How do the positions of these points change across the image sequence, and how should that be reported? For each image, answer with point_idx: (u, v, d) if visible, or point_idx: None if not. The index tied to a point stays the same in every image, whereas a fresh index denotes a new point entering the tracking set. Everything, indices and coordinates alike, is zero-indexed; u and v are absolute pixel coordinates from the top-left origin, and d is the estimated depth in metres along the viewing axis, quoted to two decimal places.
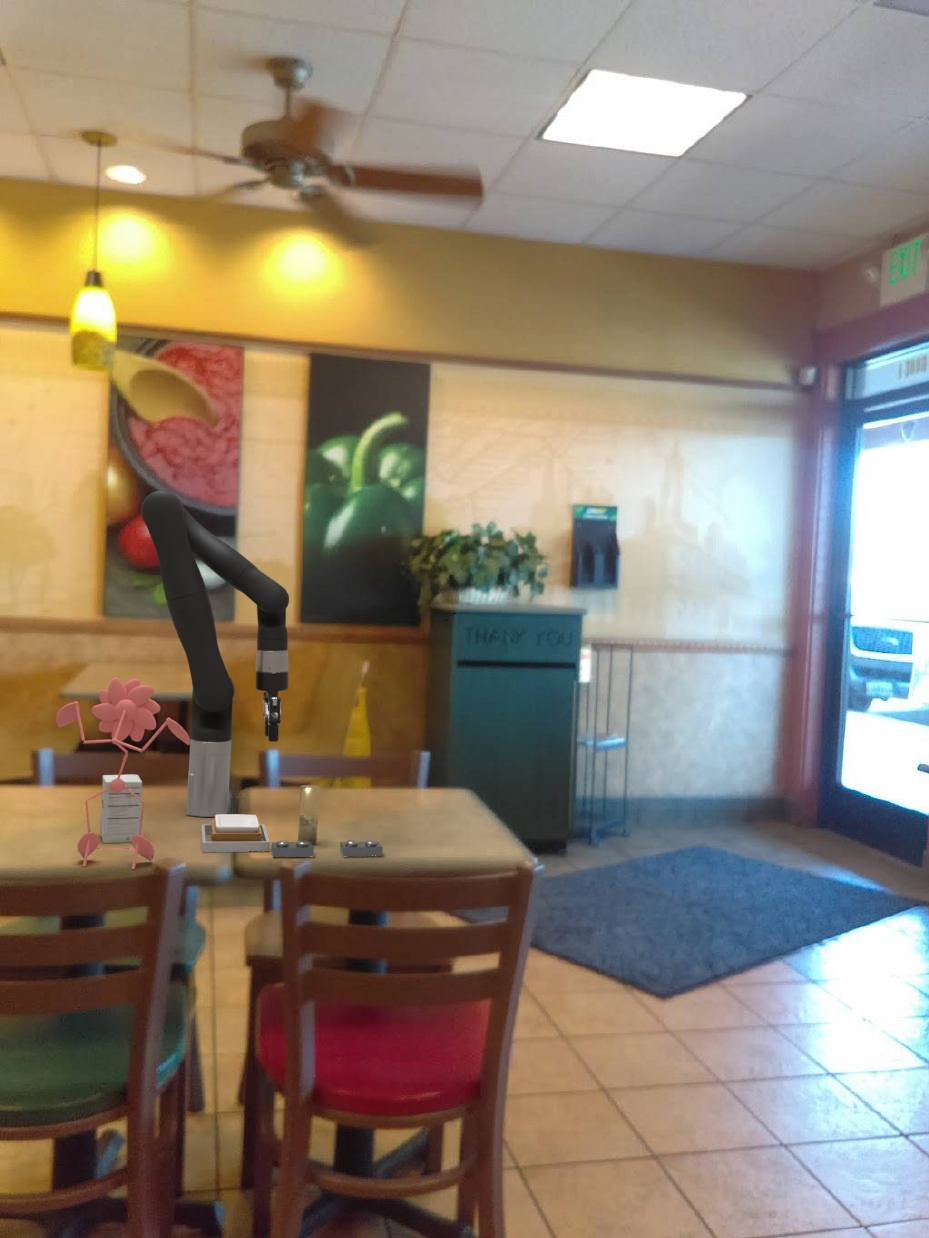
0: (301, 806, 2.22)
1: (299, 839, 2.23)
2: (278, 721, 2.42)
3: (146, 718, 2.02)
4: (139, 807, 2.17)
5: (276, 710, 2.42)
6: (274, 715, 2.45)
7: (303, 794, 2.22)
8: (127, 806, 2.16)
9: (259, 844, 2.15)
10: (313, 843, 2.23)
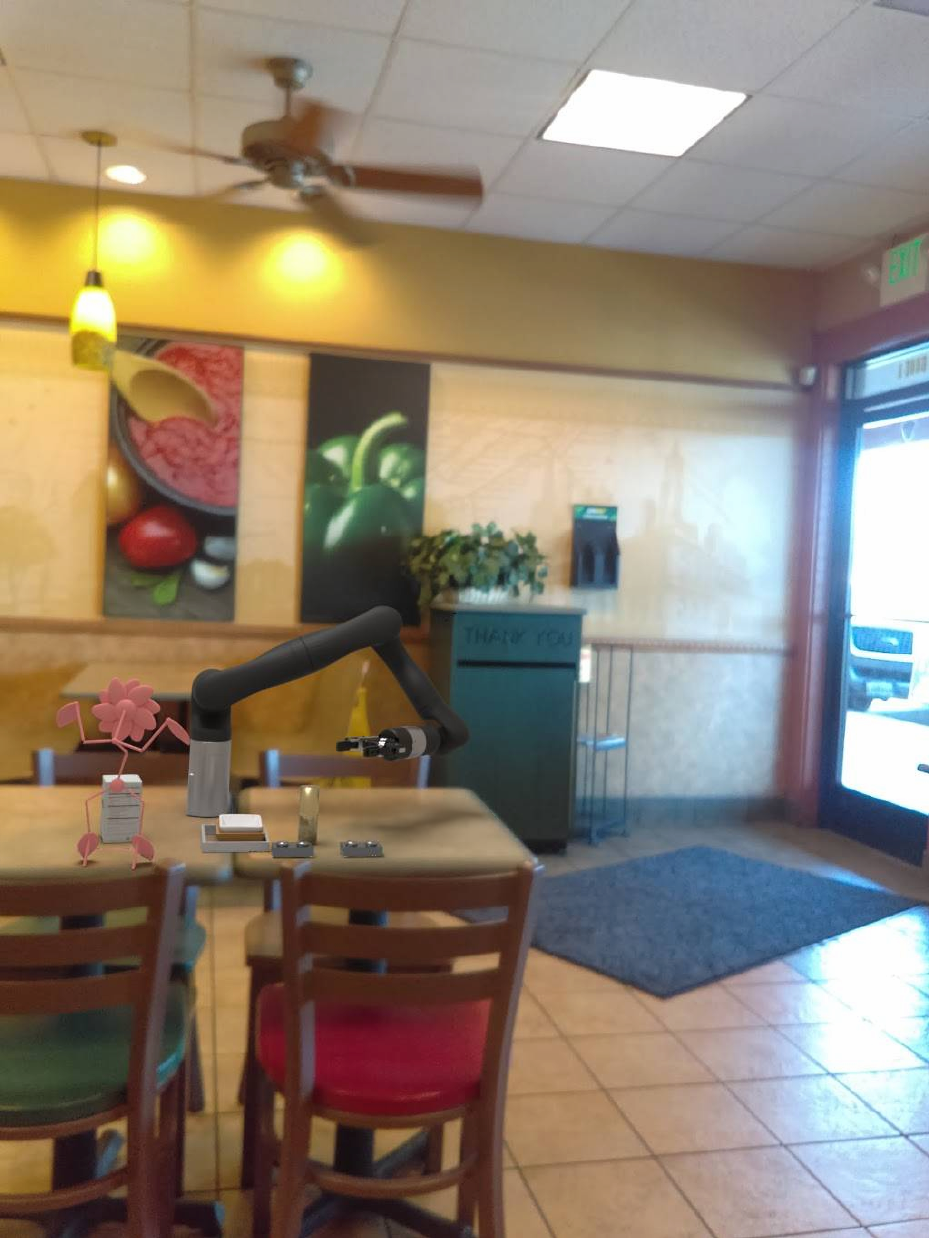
0: (301, 806, 2.22)
1: (299, 839, 2.23)
2: (389, 755, 2.31)
3: (146, 718, 2.02)
4: (139, 807, 2.17)
5: (397, 752, 2.33)
6: None
7: (303, 794, 2.22)
8: (127, 806, 2.16)
9: (259, 844, 2.15)
10: (313, 843, 2.23)
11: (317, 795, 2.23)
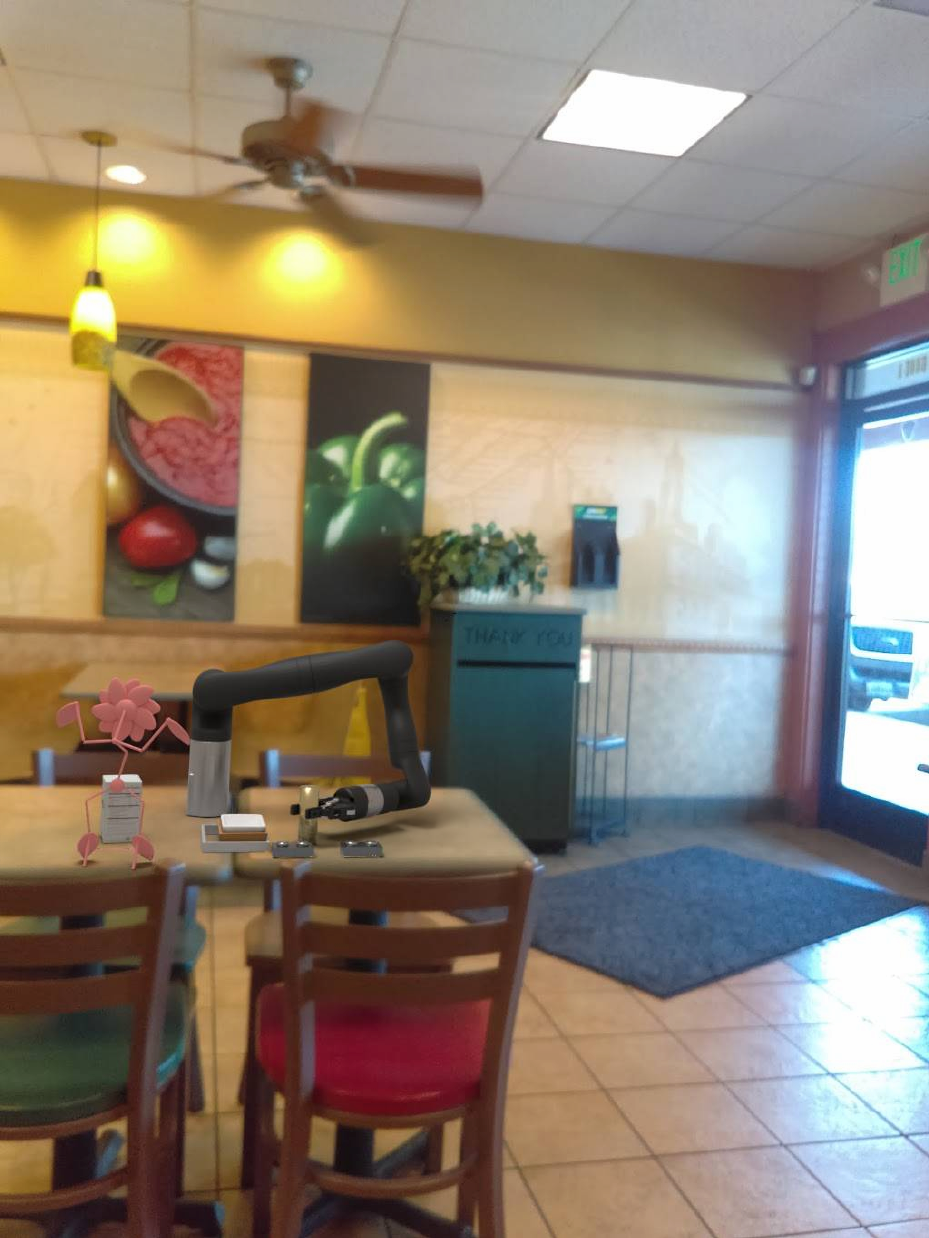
0: (301, 806, 2.22)
1: (299, 839, 2.23)
2: (331, 817, 2.22)
3: (146, 718, 2.02)
4: (139, 807, 2.17)
5: (342, 814, 2.23)
6: None
7: (303, 794, 2.22)
8: (127, 806, 2.16)
9: (259, 844, 2.15)
10: (313, 843, 2.23)
11: (317, 795, 2.23)
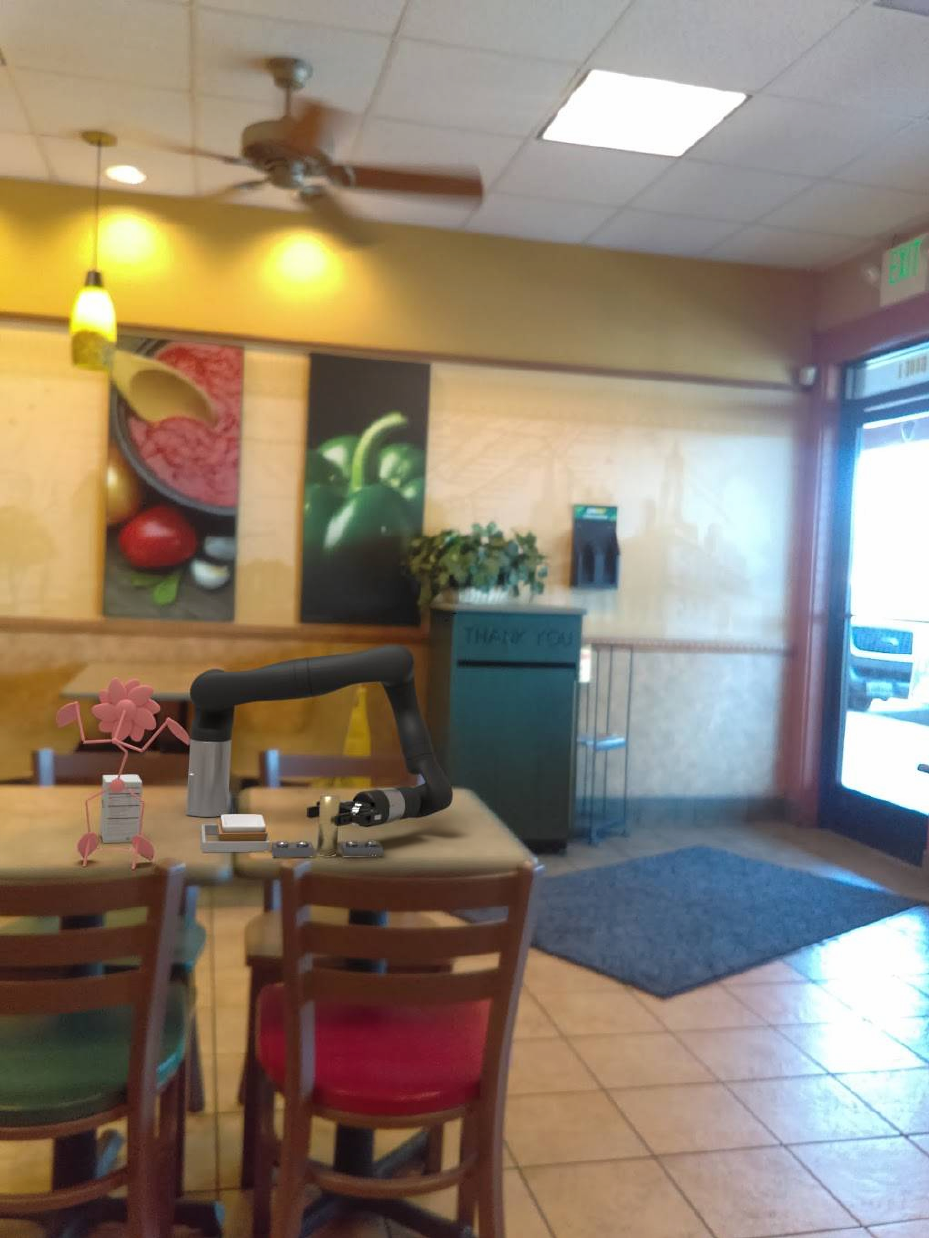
0: (321, 816, 2.14)
1: (319, 850, 2.15)
2: (363, 824, 2.14)
3: (146, 718, 2.02)
4: (139, 807, 2.17)
5: (372, 820, 2.15)
6: None
7: (323, 803, 2.14)
8: (127, 806, 2.16)
9: (259, 844, 2.15)
10: (333, 854, 2.15)
11: (337, 804, 2.15)
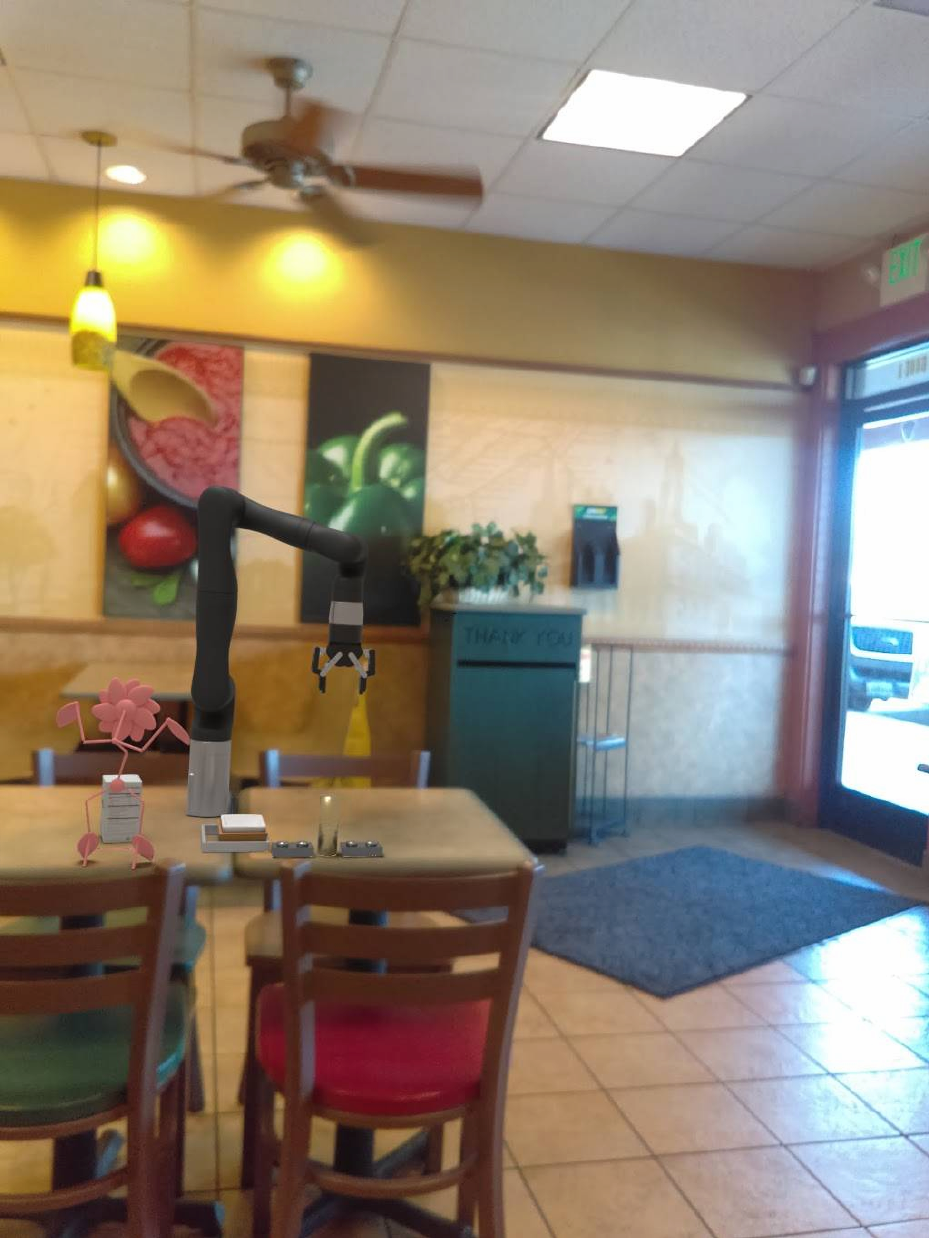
0: (321, 816, 2.14)
1: (319, 850, 2.15)
2: None
3: (146, 718, 2.02)
4: (139, 807, 2.17)
5: None
6: None
7: (323, 804, 2.14)
8: (127, 806, 2.16)
9: (259, 844, 2.15)
10: (333, 854, 2.15)
11: (337, 804, 2.15)
